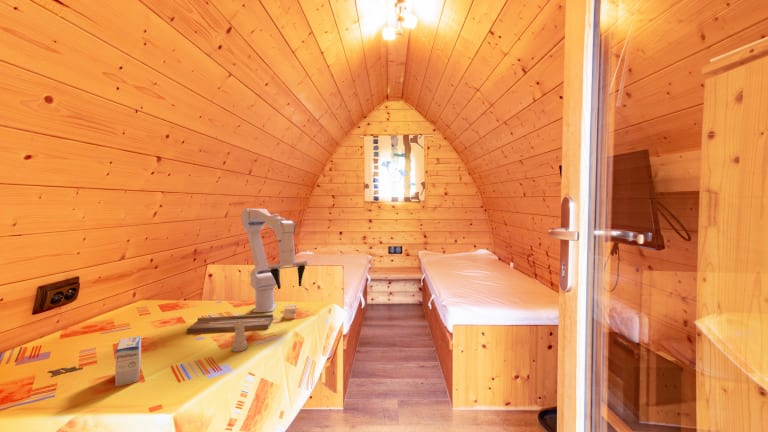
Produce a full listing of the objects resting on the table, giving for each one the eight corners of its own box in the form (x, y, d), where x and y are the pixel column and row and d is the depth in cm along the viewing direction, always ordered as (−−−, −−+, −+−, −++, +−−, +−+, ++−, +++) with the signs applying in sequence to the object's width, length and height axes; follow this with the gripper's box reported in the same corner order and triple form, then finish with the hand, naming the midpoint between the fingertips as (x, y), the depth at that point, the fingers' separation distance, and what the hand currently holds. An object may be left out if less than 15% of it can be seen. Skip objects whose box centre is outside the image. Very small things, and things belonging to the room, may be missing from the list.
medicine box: (118, 373, 79) (118, 338, 79) (141, 368, 82) (141, 335, 82) (115, 387, 73) (115, 349, 73) (139, 381, 75) (139, 345, 75)
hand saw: (160, 345, 98) (160, 342, 98) (164, 349, 95) (164, 346, 95) (47, 373, 80) (47, 370, 80) (47, 379, 77) (47, 376, 77)
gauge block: (286, 315, 126) (286, 305, 126) (296, 314, 127) (296, 304, 127) (284, 319, 121) (284, 308, 121) (295, 318, 122) (295, 308, 122)
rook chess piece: (250, 349, 94) (250, 322, 94) (234, 353, 90) (234, 325, 90) (244, 344, 97) (244, 318, 97) (229, 349, 94) (229, 322, 94)
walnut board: (199, 323, 116) (199, 317, 116) (273, 319, 120) (273, 313, 120) (187, 333, 106) (187, 326, 106) (268, 328, 110) (268, 322, 110)
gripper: (264, 253, 116) (267, 291, 115) (305, 249, 119) (308, 285, 117) (268, 253, 123) (271, 288, 122) (306, 249, 125) (309, 284, 124)
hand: (289, 287), depth 120 cm, fingers open, 7 cm apart
